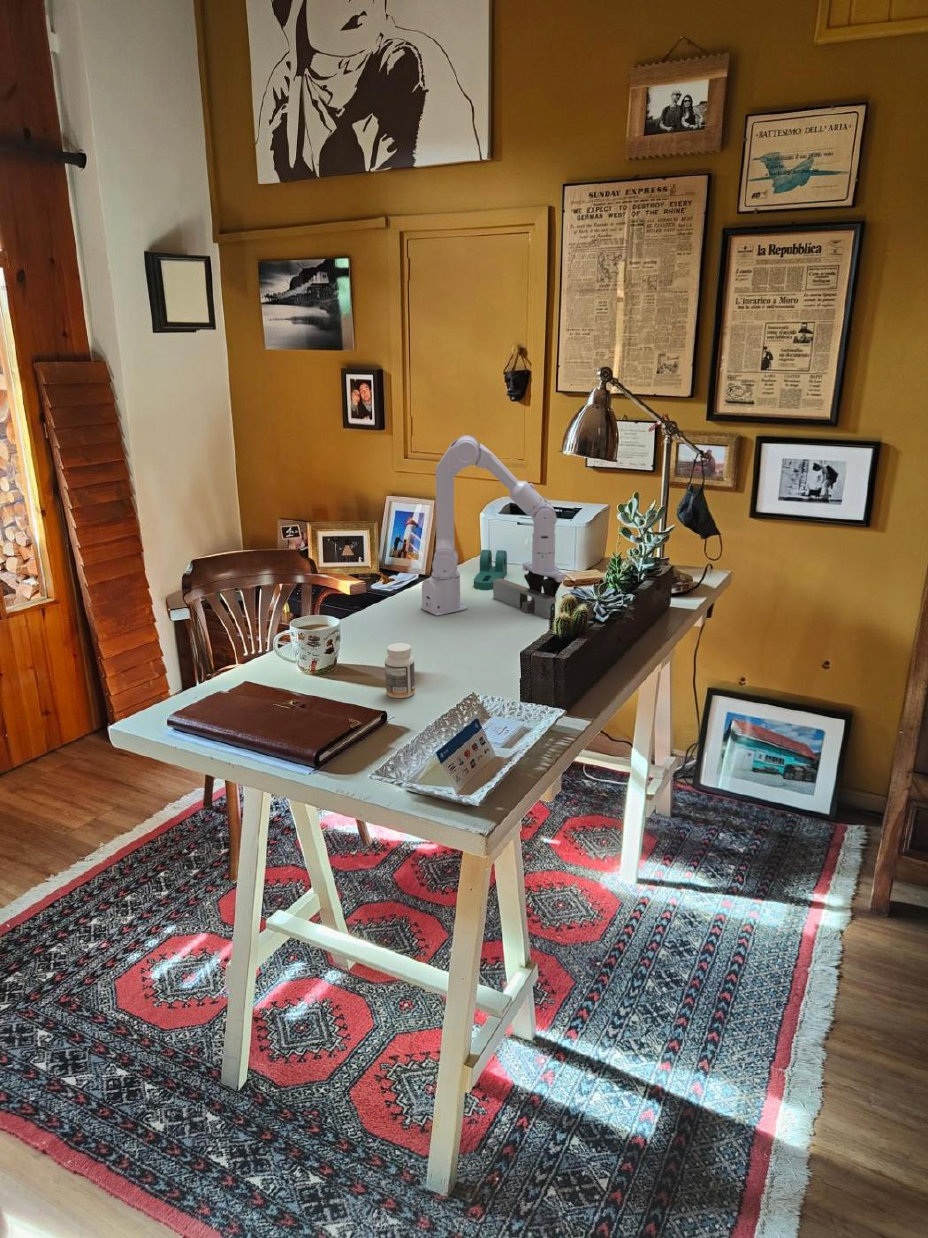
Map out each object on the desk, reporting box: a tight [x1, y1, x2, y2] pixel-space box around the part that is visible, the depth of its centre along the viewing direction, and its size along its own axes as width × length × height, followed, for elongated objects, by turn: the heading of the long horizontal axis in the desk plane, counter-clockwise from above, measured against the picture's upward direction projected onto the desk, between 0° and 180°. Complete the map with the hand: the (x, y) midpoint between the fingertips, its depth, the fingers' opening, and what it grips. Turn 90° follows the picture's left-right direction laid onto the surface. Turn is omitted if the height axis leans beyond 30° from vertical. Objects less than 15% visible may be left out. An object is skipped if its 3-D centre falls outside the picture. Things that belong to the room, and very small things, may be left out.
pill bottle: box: [384, 642, 416, 699], centre depth 175 cm, size 6×6×10 cm
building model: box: [492, 578, 554, 620], centre depth 228 cm, size 2×22×5 cm, turn 35°
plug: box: [521, 595, 557, 614], centre depth 227 cm, size 8×4×3 cm, turn 125°
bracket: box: [473, 549, 508, 591], centre depth 252 cm, size 18×7×8 cm, turn 167°
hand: (542, 602), depth 228 cm, fingers closed on plug, 4 cm apart
